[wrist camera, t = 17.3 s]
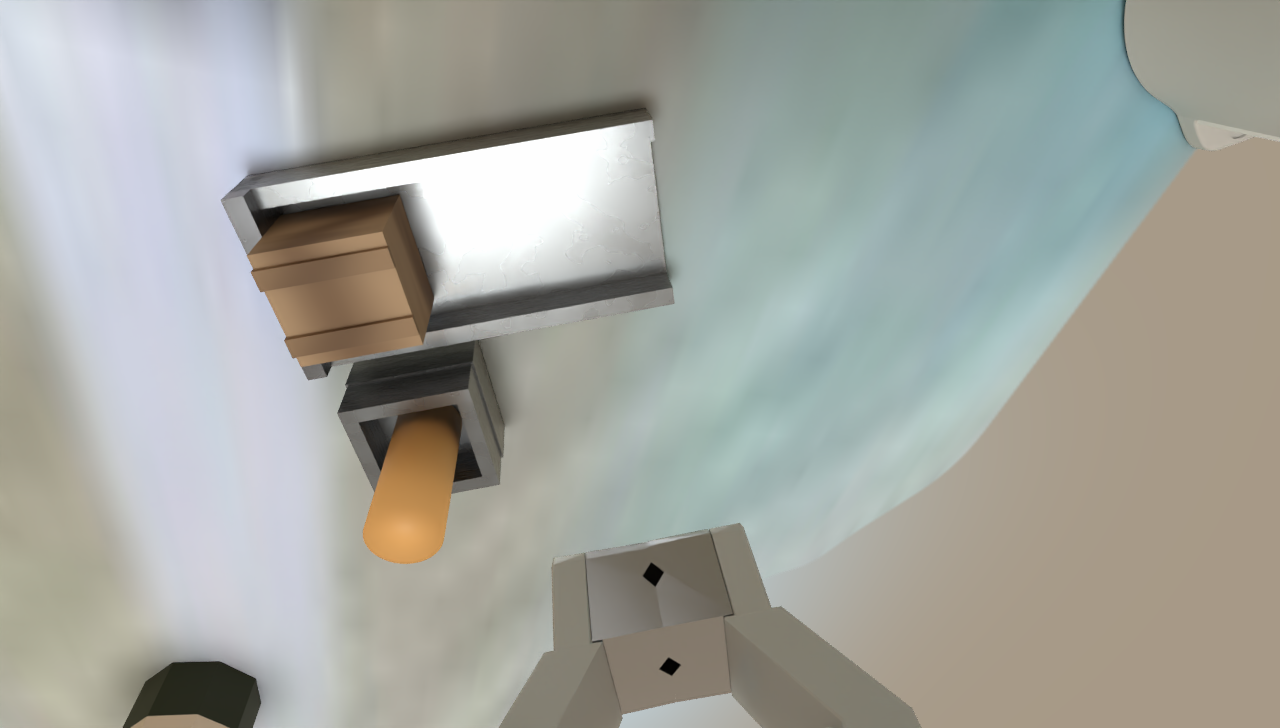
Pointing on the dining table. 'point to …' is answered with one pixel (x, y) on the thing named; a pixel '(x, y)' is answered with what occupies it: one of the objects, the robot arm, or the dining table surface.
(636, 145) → the bay
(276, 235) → the crate
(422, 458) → the round peg
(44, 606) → the dining table surface
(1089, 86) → the dining table surface
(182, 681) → the wine bottle
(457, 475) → the square tube sleeve
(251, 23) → the dining table surface
